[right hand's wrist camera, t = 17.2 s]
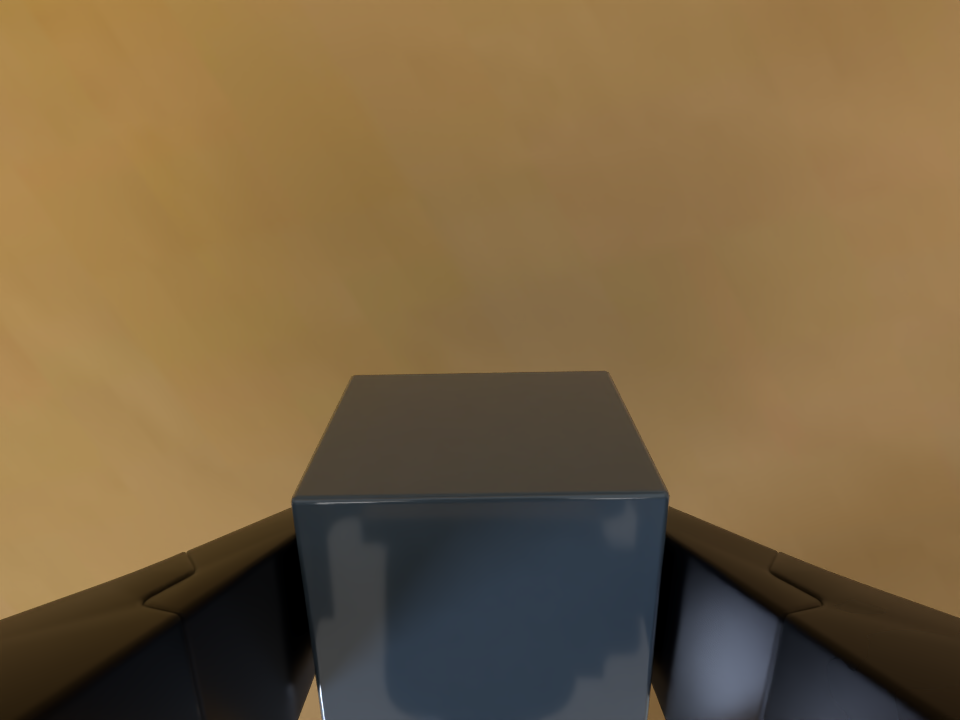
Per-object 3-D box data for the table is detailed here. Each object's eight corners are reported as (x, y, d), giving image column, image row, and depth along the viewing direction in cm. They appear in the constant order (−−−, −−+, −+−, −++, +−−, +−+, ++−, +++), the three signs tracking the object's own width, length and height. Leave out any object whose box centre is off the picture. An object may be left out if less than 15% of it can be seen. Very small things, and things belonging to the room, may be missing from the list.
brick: (370, 577, 13) (325, 764, 9) (350, 373, 12) (287, 498, 8) (598, 573, 13) (646, 761, 9) (609, 368, 12) (672, 492, 8)
